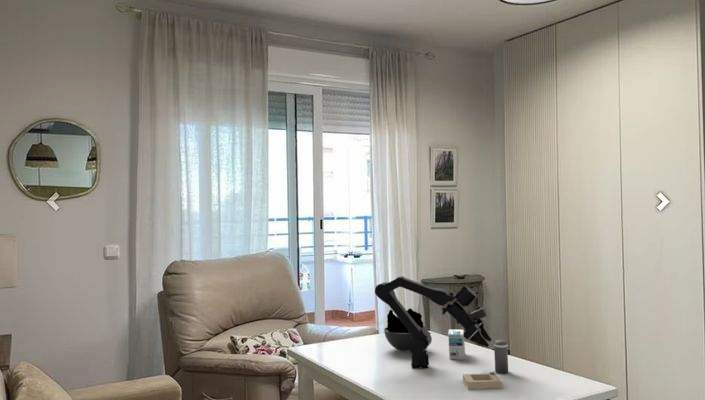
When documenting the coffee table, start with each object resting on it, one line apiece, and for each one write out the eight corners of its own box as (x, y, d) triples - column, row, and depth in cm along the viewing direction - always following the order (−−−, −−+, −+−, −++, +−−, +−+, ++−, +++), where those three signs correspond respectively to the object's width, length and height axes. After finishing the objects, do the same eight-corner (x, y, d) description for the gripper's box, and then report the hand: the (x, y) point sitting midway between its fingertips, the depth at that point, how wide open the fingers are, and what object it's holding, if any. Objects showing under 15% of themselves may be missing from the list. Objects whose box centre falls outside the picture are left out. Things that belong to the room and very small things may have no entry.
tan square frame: (468, 389, 198) (467, 380, 198) (462, 380, 208) (462, 372, 208) (501, 388, 198) (501, 379, 198) (494, 379, 208) (494, 371, 208)
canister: (496, 374, 215) (495, 342, 215) (493, 370, 220) (492, 339, 220) (510, 373, 215) (509, 342, 215) (506, 369, 220) (505, 339, 220)
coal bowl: (435, 348, 258) (434, 307, 258) (416, 358, 241) (415, 315, 241) (397, 343, 269) (396, 304, 269) (376, 353, 252) (375, 311, 252)
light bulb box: (465, 359, 237) (464, 334, 237) (449, 359, 238) (448, 334, 238) (465, 353, 247) (464, 329, 247) (449, 353, 248) (448, 328, 249)
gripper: (470, 304, 213) (501, 334, 209) (477, 296, 230) (505, 324, 226) (451, 324, 215) (481, 354, 211) (458, 315, 233) (486, 343, 229)
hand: (489, 343), depth 219 cm, fingers open, 9 cm apart
